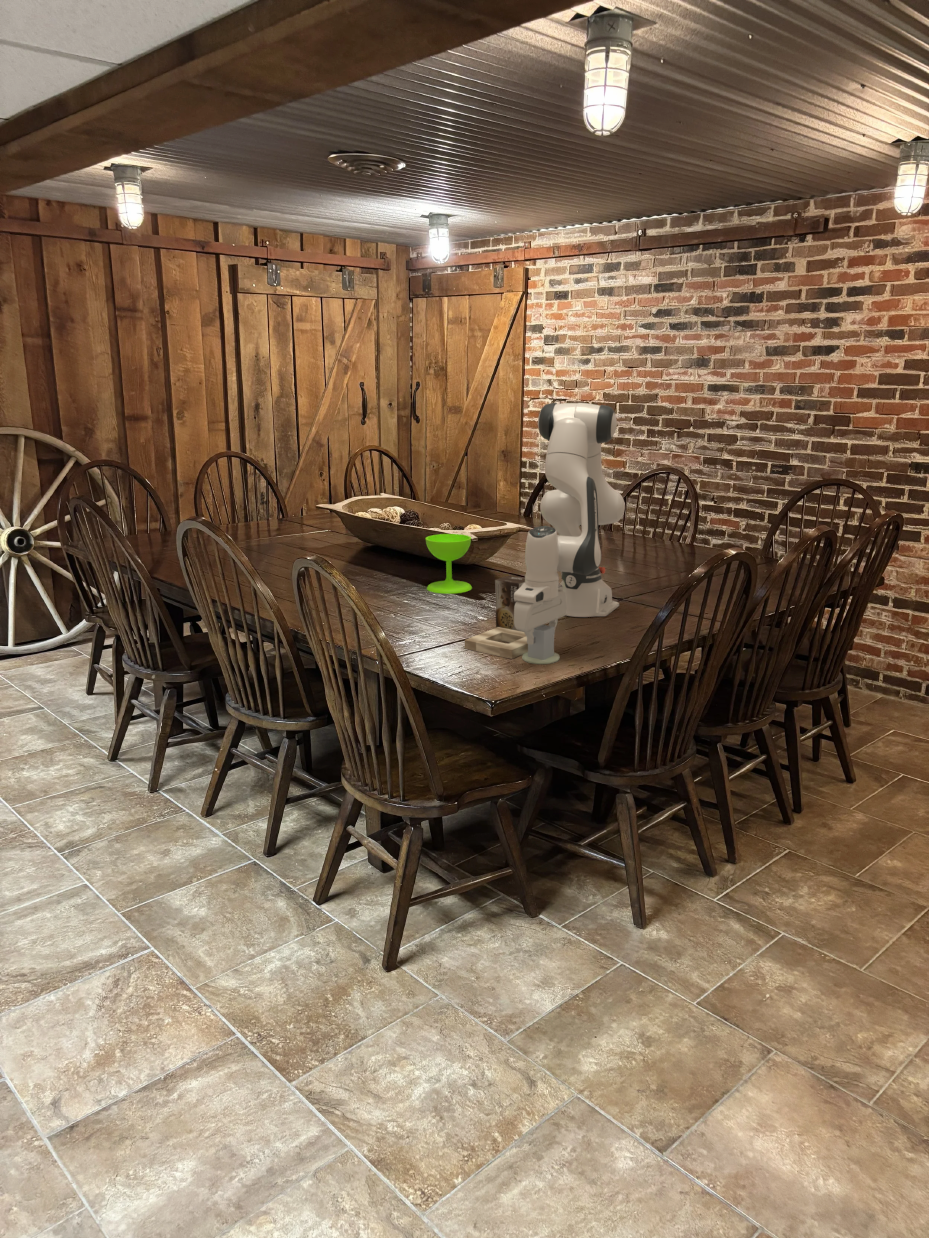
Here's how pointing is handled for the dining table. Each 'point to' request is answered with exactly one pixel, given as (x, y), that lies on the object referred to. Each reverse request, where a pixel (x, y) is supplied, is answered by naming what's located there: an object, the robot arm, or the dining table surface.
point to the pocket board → (493, 646)
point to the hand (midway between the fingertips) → (541, 639)
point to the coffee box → (506, 600)
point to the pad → (538, 661)
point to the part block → (542, 643)
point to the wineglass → (448, 560)
